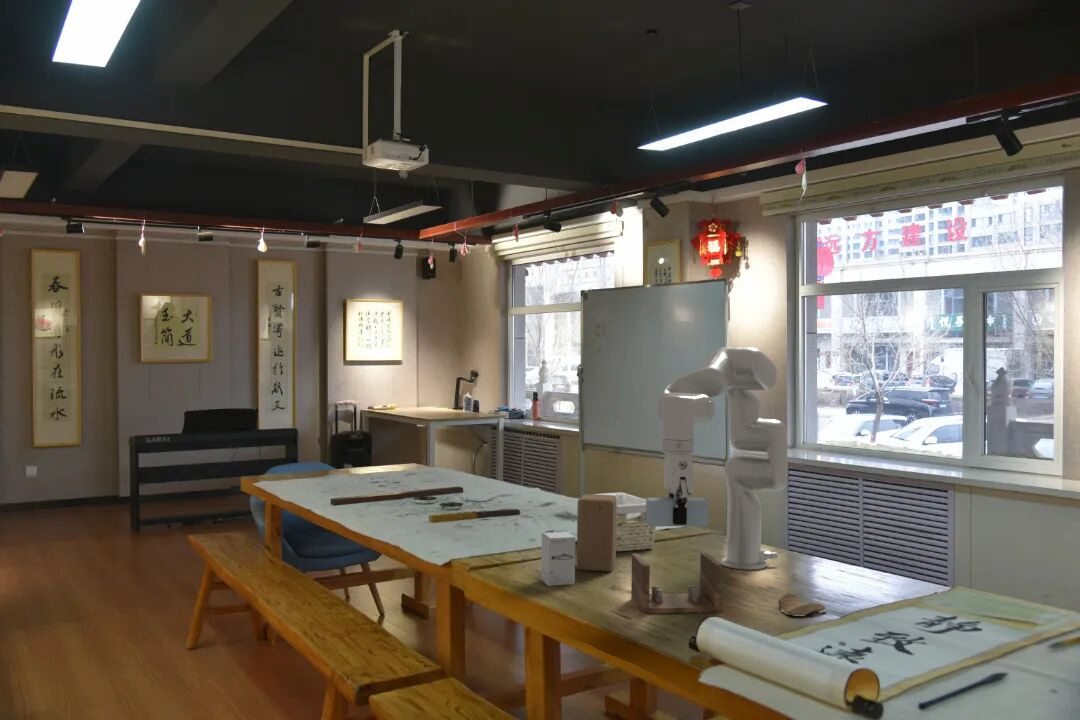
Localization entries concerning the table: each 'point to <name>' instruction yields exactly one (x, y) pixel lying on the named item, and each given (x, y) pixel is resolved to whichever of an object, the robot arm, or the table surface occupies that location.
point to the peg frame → (678, 602)
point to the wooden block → (596, 532)
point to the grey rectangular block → (662, 512)
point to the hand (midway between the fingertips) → (676, 521)
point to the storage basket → (632, 523)
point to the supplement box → (558, 558)
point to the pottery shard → (798, 605)
